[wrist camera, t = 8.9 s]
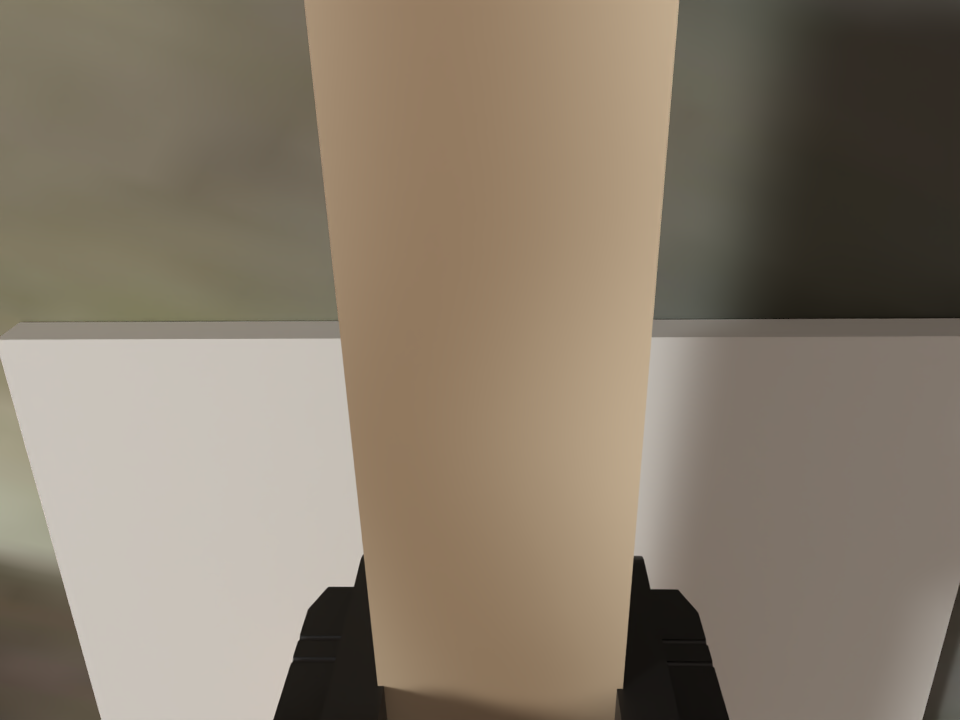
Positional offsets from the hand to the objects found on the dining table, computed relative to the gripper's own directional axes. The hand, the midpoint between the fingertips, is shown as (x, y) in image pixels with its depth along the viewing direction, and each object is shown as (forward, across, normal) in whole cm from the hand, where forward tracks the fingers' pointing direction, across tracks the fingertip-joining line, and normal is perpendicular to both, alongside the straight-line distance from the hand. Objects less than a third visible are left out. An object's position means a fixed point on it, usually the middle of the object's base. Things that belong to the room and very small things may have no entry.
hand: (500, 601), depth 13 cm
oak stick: (+1, 0, 0) cm, 1 cm away
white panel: (+7, 0, +8) cm, 11 cm away
